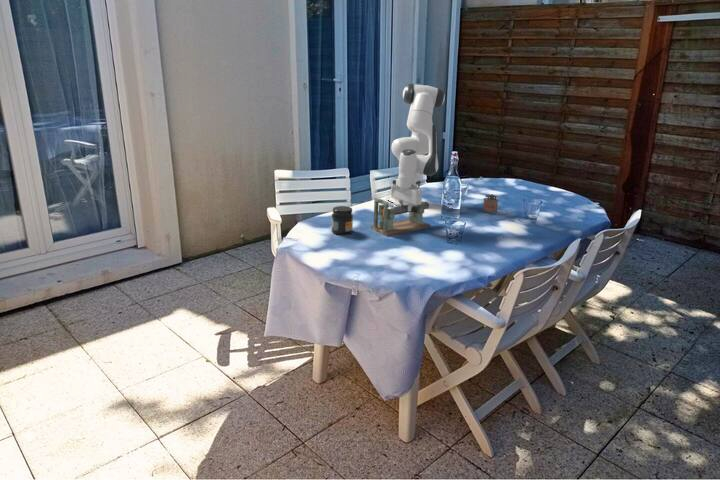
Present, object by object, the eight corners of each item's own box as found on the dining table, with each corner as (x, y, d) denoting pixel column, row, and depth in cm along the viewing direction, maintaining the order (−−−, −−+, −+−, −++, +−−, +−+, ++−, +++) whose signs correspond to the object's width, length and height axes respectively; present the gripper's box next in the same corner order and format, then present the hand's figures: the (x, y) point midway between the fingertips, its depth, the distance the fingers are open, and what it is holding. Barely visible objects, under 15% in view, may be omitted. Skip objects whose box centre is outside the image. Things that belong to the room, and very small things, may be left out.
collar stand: (370, 229, 278) (372, 197, 272) (413, 220, 293) (415, 190, 287) (386, 236, 267) (388, 203, 262) (430, 227, 283) (432, 196, 277)
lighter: (496, 211, 314) (498, 194, 311) (497, 212, 311) (499, 195, 308) (482, 210, 315) (484, 193, 311) (482, 212, 312) (484, 195, 308)
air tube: (385, 218, 269) (386, 209, 268) (380, 215, 272) (380, 207, 271) (428, 210, 285) (429, 202, 283) (423, 208, 288) (423, 200, 286)
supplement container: (357, 232, 272) (357, 208, 268) (342, 236, 265) (342, 213, 261) (342, 227, 279) (342, 204, 275) (327, 231, 272) (327, 208, 268)
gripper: (425, 186, 267) (423, 214, 272) (399, 178, 283) (397, 204, 287) (415, 188, 264) (414, 215, 268) (389, 179, 279) (388, 205, 284)
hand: (405, 209), depth 278 cm, fingers closed on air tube, 4 cm apart
